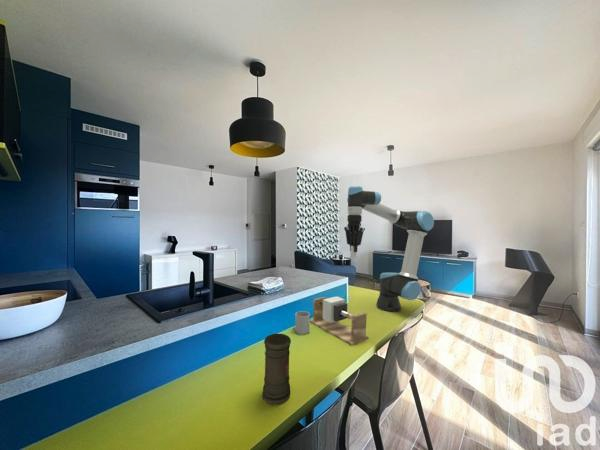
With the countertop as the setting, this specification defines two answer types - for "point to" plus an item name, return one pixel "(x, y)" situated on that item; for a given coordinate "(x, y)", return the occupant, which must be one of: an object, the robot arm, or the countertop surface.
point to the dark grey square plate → (336, 311)
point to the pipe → (342, 312)
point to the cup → (302, 322)
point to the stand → (340, 325)
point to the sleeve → (330, 307)
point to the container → (276, 369)
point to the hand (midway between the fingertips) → (353, 257)
